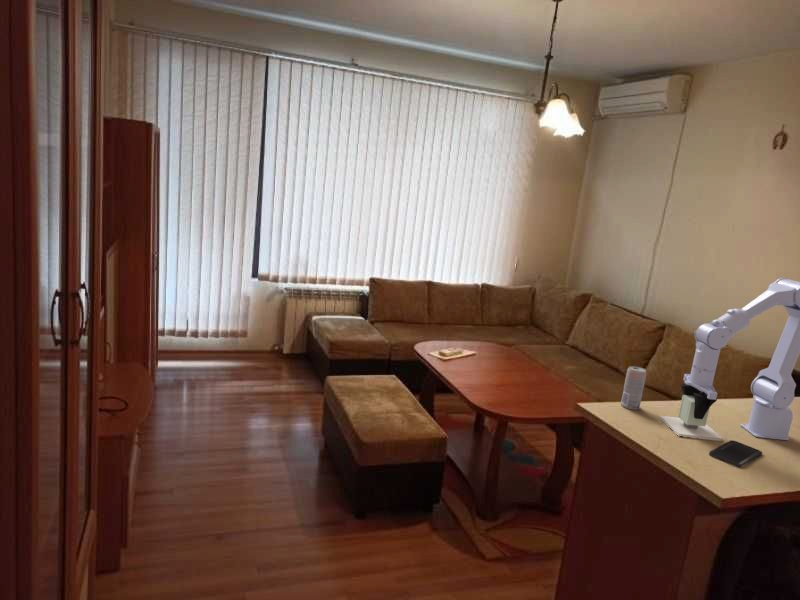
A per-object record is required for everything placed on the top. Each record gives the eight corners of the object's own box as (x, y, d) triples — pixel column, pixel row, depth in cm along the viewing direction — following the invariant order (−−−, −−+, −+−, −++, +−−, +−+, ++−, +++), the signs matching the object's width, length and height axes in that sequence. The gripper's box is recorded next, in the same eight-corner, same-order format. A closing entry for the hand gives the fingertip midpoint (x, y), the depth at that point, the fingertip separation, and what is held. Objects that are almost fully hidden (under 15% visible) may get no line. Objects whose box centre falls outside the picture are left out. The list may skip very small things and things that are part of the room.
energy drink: (636, 404, 176) (643, 367, 174) (641, 411, 171) (649, 373, 169) (618, 402, 177) (625, 364, 174) (623, 408, 172) (630, 370, 169)
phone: (763, 452, 150) (740, 465, 140) (762, 456, 150) (739, 469, 140) (731, 439, 156) (707, 451, 146) (730, 443, 156) (706, 455, 146)
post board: (700, 422, 167) (704, 405, 166) (722, 441, 156) (726, 422, 155) (659, 418, 167) (663, 401, 166) (678, 436, 156) (682, 418, 154)
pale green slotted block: (696, 418, 164) (701, 396, 162) (705, 426, 158) (710, 403, 157) (677, 416, 163) (682, 394, 162) (686, 424, 158) (691, 401, 157)
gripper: (677, 357, 165) (667, 402, 168) (702, 375, 150) (691, 423, 153) (701, 360, 165) (691, 405, 168) (729, 378, 151) (717, 426, 153)
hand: (693, 414), depth 161 cm, fingers closed on pale green slotted block, 5 cm apart
